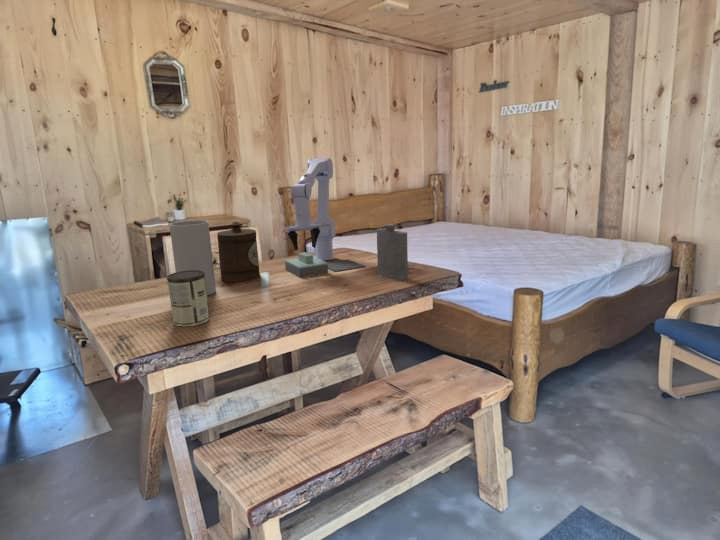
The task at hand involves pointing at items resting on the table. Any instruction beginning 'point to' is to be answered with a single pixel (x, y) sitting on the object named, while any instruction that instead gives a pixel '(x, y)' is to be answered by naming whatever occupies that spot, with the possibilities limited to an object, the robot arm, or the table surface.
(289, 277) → the table surface
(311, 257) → the lid
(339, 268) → the mat
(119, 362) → the table surface
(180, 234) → the cylinder vase
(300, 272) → the storage box
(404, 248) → the hip flask
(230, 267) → the wooden container
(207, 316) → the coffee can
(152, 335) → the table surface
